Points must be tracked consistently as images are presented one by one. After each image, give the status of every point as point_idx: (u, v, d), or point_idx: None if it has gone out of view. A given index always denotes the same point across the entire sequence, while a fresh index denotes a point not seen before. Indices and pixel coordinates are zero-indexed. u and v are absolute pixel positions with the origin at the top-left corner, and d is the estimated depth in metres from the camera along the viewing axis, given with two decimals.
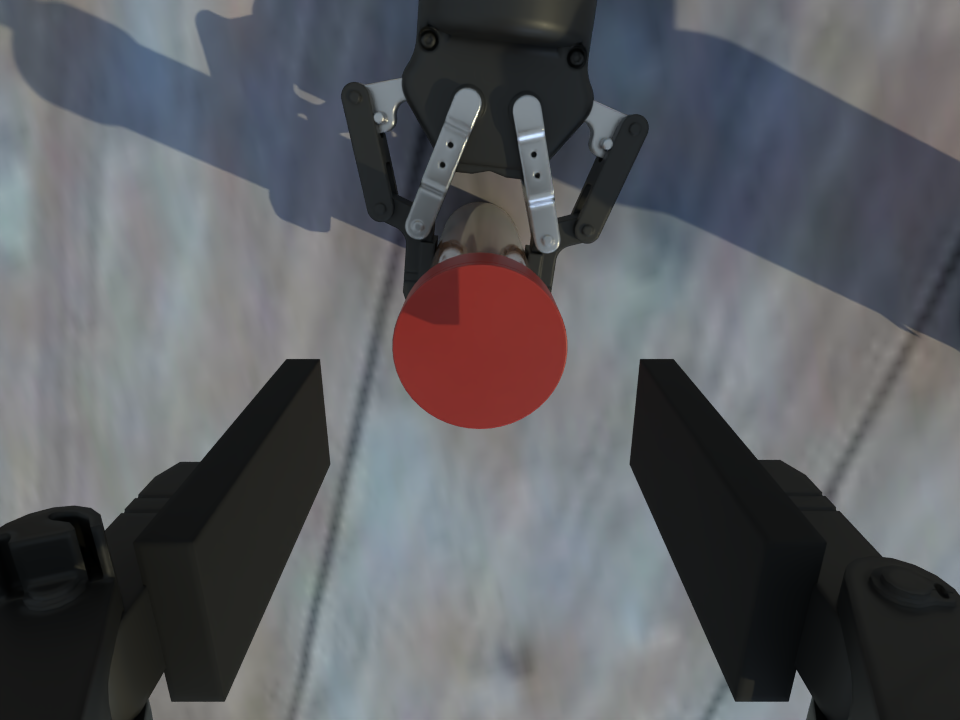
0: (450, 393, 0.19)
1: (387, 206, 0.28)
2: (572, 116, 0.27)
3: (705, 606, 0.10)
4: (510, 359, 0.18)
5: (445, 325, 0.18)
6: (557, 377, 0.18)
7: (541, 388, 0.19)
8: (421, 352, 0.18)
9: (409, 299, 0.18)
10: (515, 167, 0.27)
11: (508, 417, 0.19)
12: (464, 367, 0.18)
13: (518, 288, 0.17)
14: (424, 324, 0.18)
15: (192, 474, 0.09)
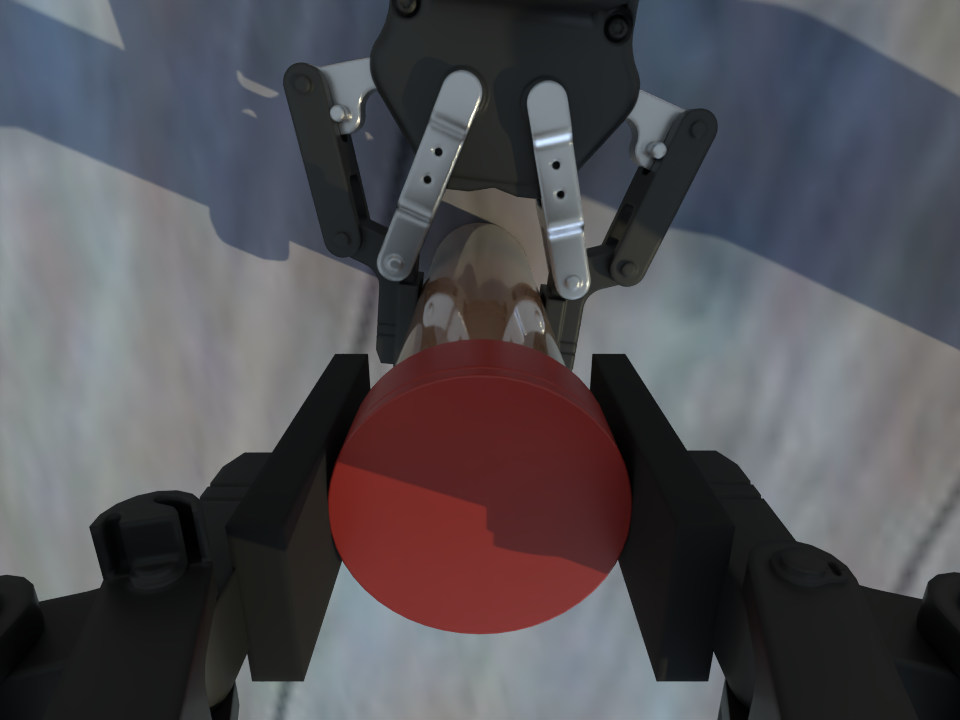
0: (429, 581, 0.11)
1: (351, 236, 0.20)
2: (610, 111, 0.19)
3: (636, 591, 0.10)
4: (532, 529, 0.11)
5: (419, 476, 0.10)
6: (613, 557, 0.11)
7: (585, 574, 0.11)
8: (378, 519, 0.10)
9: (354, 434, 0.10)
10: (529, 182, 0.20)
11: (527, 617, 0.11)
12: (453, 543, 0.11)
13: (549, 415, 0.10)
14: (382, 474, 0.10)
15: (267, 463, 0.09)
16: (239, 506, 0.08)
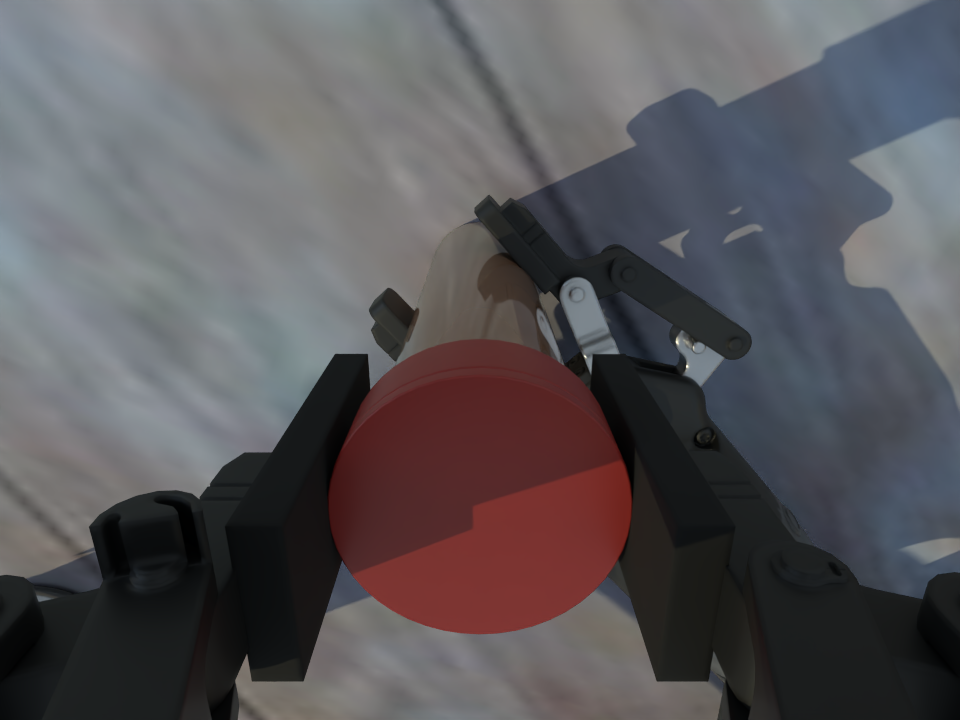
0: (429, 581, 0.11)
1: (623, 283, 0.21)
2: None
3: (636, 591, 0.10)
4: (533, 529, 0.11)
5: (419, 476, 0.10)
6: (613, 557, 0.11)
7: (585, 574, 0.11)
8: (378, 519, 0.10)
9: (354, 433, 0.10)
10: None
11: (526, 617, 0.11)
12: (454, 543, 0.11)
13: (549, 416, 0.10)
14: (382, 474, 0.10)
15: (267, 462, 0.09)
16: (239, 506, 0.08)
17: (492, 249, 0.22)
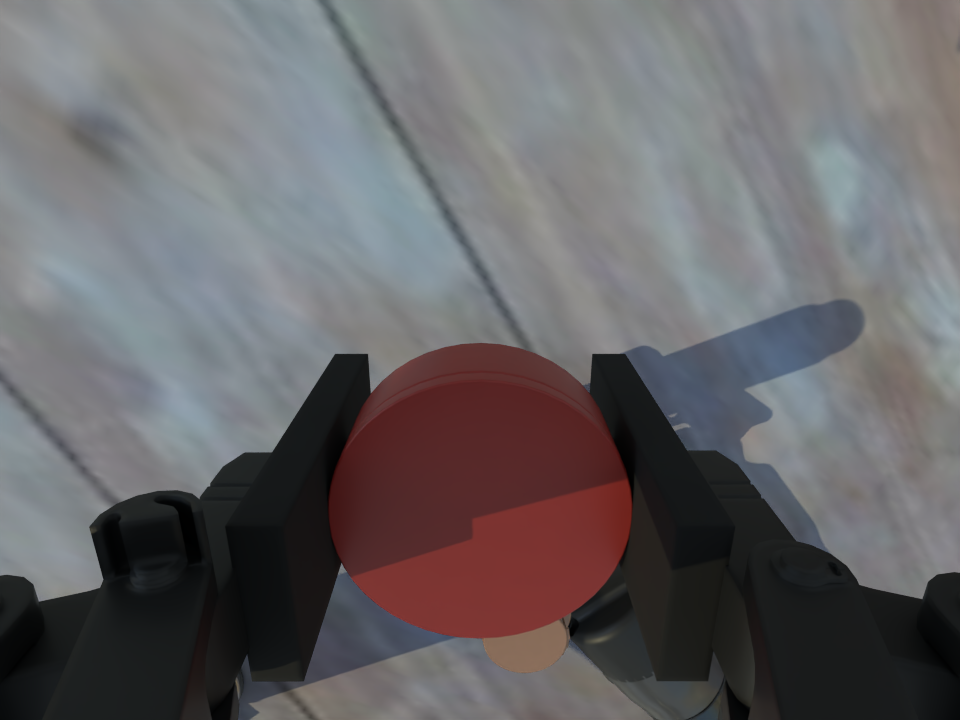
0: (430, 586, 0.11)
1: None
2: None
3: (636, 591, 0.10)
4: (534, 534, 0.11)
5: (419, 480, 0.10)
6: (614, 561, 0.11)
7: (585, 578, 0.11)
8: (379, 523, 0.10)
9: (354, 438, 0.10)
10: None
11: (527, 621, 0.11)
12: (453, 547, 0.11)
13: (549, 420, 0.10)
14: (382, 479, 0.10)
15: (268, 462, 0.09)
16: (239, 506, 0.08)
17: None
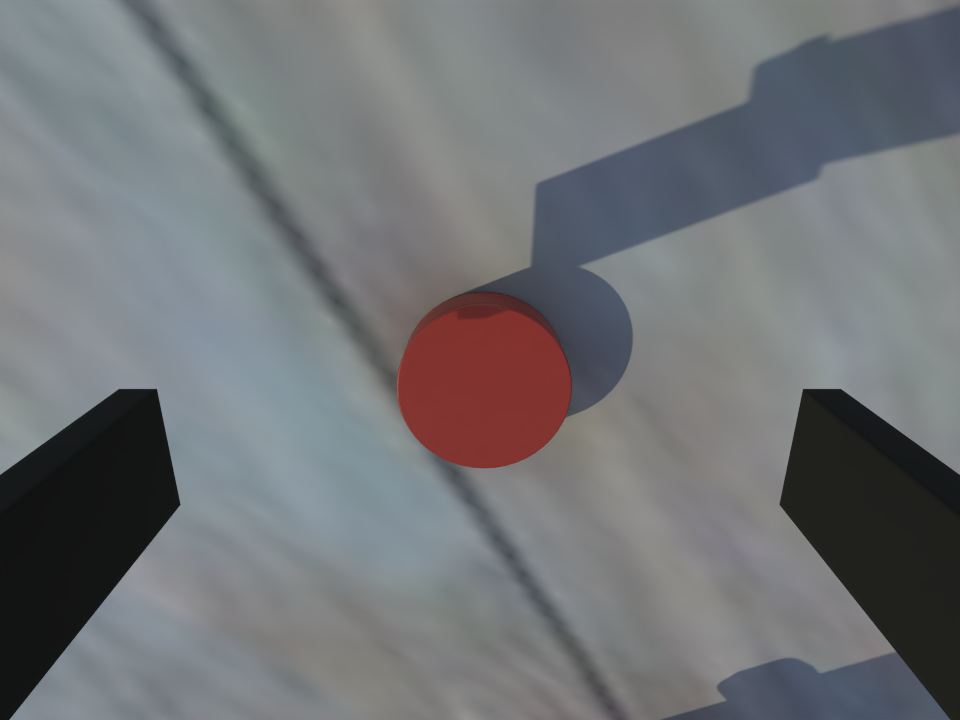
0: (454, 433, 0.19)
1: None
2: None
3: None
4: (515, 399, 0.18)
5: (449, 365, 0.18)
6: (561, 416, 0.18)
7: (545, 427, 0.19)
8: (425, 392, 0.18)
9: (413, 340, 0.18)
10: None
11: (512, 456, 0.19)
12: (468, 407, 0.18)
13: (522, 329, 0.18)
14: (428, 364, 0.18)
15: None
16: None
17: None
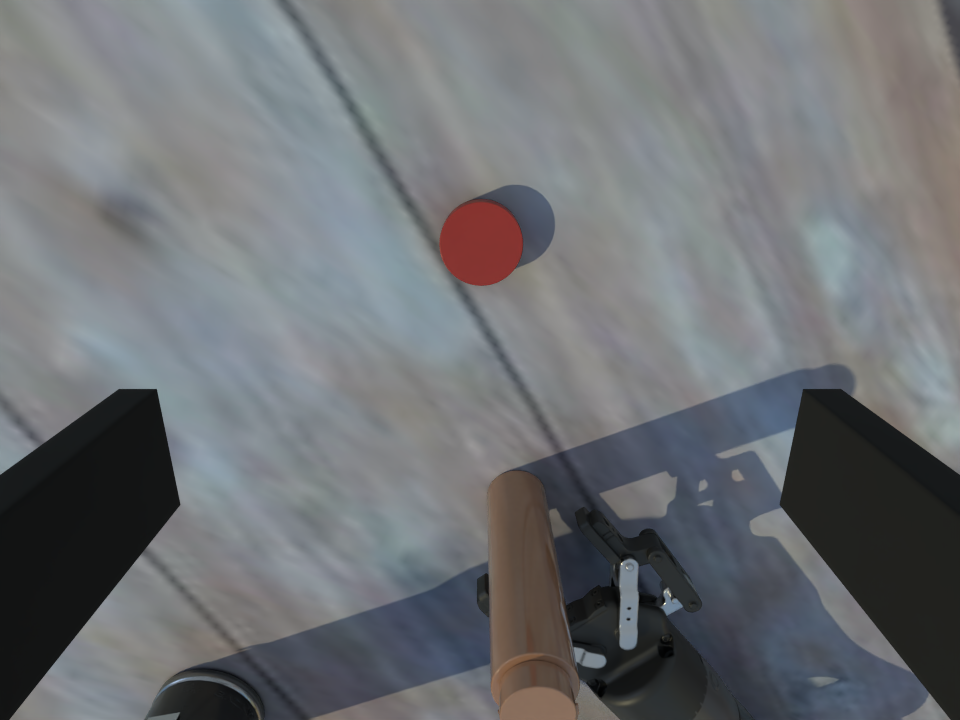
0: (467, 266, 0.39)
1: (653, 561, 0.40)
2: None
3: None
4: (496, 249, 0.38)
5: (464, 231, 0.38)
6: (518, 258, 0.38)
7: (511, 264, 0.39)
8: (453, 245, 0.38)
9: (448, 219, 0.38)
10: (576, 629, 0.42)
11: (494, 279, 0.39)
12: (473, 253, 0.38)
13: (499, 213, 0.37)
14: (455, 231, 0.38)
15: None
16: None
17: (530, 523, 0.40)
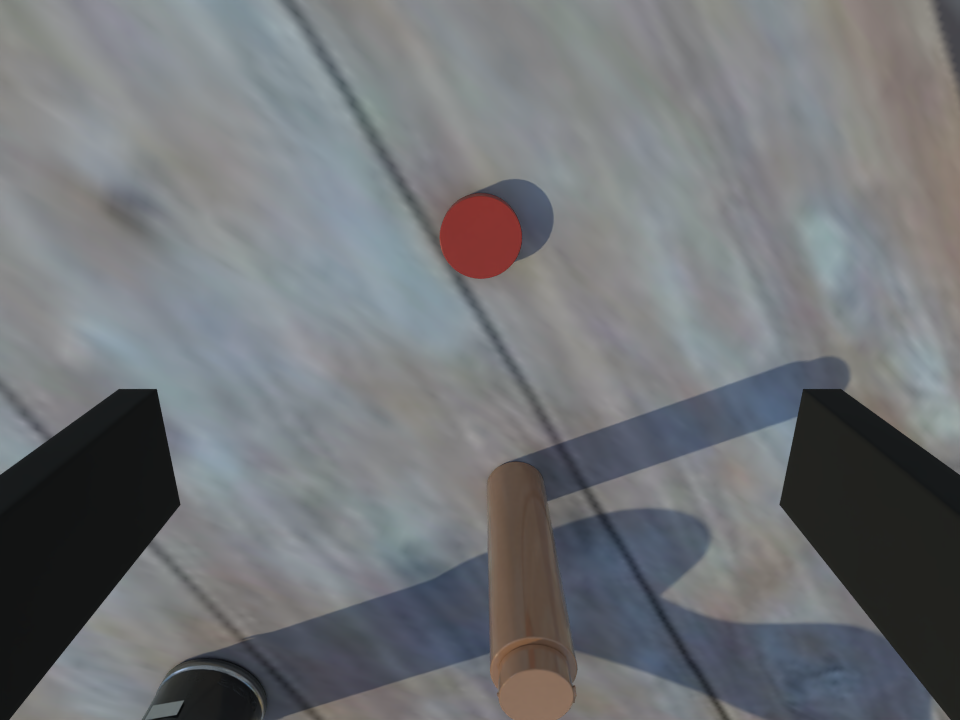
0: (466, 260, 0.39)
1: None
2: None
3: None
4: (495, 242, 0.39)
5: (464, 225, 0.38)
6: (517, 251, 0.39)
7: (510, 257, 0.39)
8: (453, 239, 0.39)
9: (448, 212, 0.38)
10: None
11: (494, 272, 0.39)
12: (473, 246, 0.39)
13: (498, 207, 0.38)
14: (454, 225, 0.38)
15: None
16: None
17: (529, 513, 0.40)
